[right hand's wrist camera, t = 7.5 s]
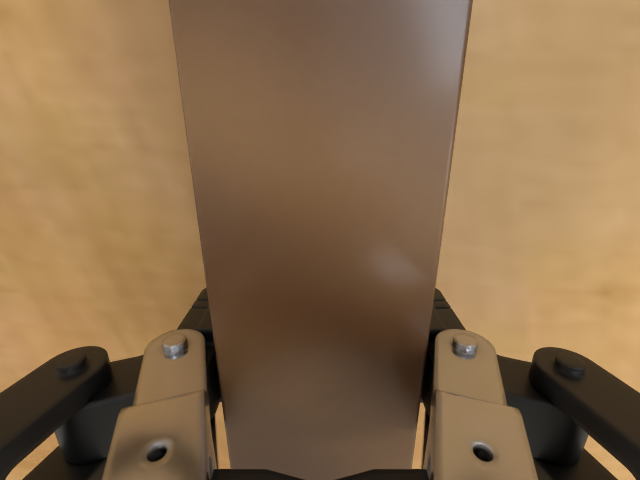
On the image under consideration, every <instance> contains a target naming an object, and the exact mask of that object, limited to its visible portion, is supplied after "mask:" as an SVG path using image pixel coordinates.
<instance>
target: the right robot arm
mask: <svg viewBox="0 0 640 480" xmlns="http://www.w3.org/2000/svg"><path fill="white" fill-rule="evenodd" d="M219 402H222V399H221V391H220V383H219V376H218V368H217V361H216V353H215V346H214V338H213V330H212V323H211V315H210V308H209V300H208V293H207V288H205V289H204V290H202V292H201V293H200V295H199V296H198V298H197V301H195V303H194V304H193V306H192V309H190V310H189V312H188V313H187V315H186V316H185V318H184V319H183V321H182V322H181V324H180V325H179V327H178V329H177V330H174V331H170V332H167V333H164V334H162V335H160V336H158V337H157V338H155V339H154V340H152V341H151V342H150V343H149V344H148V345H147V347H146V349H145V351H144V355H142V356H138V357H133V358H128V359H124V360H119V361H114V362H110V361H109V357H108V354H107V351H106V350H105V349H103V348H101V347H96V346H87V347H80V348H76V349H72V350H69V351H66V352H64V353H62V354H59V355H57V356H56V357H54V358H52V359H50V360H49V361H47V362H46V363H44V364H43V365H41V366H40V367H38V368H37V369H35V370H34V371H32V372H31V373H30V374H28V375H27V376H25V377H24V378H22V379H21V380H19V381H18V382H16V383H15V384H13V385H12V386H10V387H9V388H7V389H6V390H4V391H3V392H1V393H0V480H5V479H6V477H7V476H8V474H9V473H10V472H11V470H12V469H13V468H14V467H15V466H16V465H17V464H18V463H19V462H21V461H22V460H23V459H24V458H25V457H26V456H27V455H29V454H30V453H31V452H32V451H33V450H34V449H35V448H37V447H38V446H39V445H40V444H41V443H42V442H43V441H45V440H46V439H47V438H48V437H49V436H50V435H51V434H53V433H54V432H55V435H56V438H57V441H58V443H59V446H58V447H57V448H56V449H55V450H54V451H53V452H52V453H50V454H49V455H48V456H47V457H46V458H45V459H44V460H43V461H42V462H41V463H40V464H39V465H37V466H36V467H35V468H34V469H33V470H32V471H31V472H30V473H29V474H28V475H27V476H26V477H25V478H23V479H22V480H304V479H300V478H297V477H293V476H289V475H286V474H282V473H278V472H275V471H271V470H267V469H219V456H218V440H217V424H216V416H215V413H216V411H217V408H218V405H219ZM420 403H423V404H424V406H425V416H424V424H423V440H422V456H421V469H373V470H369V471H365V472H362V473H358V474H354V475H351V476H347V477H343V478H340V479H336V480H618V479H617V478H615V477H614V476H613V475H612V474H611V473H610V472H609V471H608V470H607V469H606V468H605V467H604V466H603V465H601V464H600V463H599V462H598V461H597V460H596V459H595V458H594V457H593V456H592V455H591V454H590V453H588V452H587V451H586V450H585V449H584V446H585V443H586V440H587V438H588V435H590V436H591V437H592V438H593V439H594V440H595V441H597V442H598V443H599V444H600V445H601V446H602V447H603V448H605V449H606V450H607V451H608V452H609V453H610V454H611V455H613V456H614V457H615V458H616V459H617V460H618V461H619V462H621V463H622V464H623V465H624V466H625V467H626V468H627V469H628V470H629V471H630V472H631V473H632V474H633V476H634V477H635V479H636V480H640V393H639V392H637V391H636V390H634V389H633V388H631V387H630V386H628V385H627V384H625V383H624V382H622V381H621V380H619V379H618V378H616V377H615V376H613V375H612V374H610V373H609V372H608V371H606V370H605V369H603V368H602V367H600V366H599V365H597V364H596V363H594V362H593V361H591V360H589V359H588V358H586V357H584V356H582V355H580V354H578V353H575V352H572V351H569V350H566V349H561V348H555V347H545V348H541V349H538V350H537V351H536V352H535V353H534V356H533V359H532V363H531V362H526V361H521V360H517V359H512V358H507V357H503V356H500V355H497V354H496V351H495V349H494V347H493V345H492V344H491V343H490V342H489V341H488V340H486V339H485V338H483V337H482V336H480V335H478V334H476V333H473V332H470V331H466V330H465V328H464V327H463V325H462V324H461V322H460V321H459V319H458V318H457V316H456V315H455V313H454V312H453V310H452V309H451V308H450V306H449V304H448V303H447V301H446V300H445V298H444V297H443V295H442V294H441V292H440V291H439V290H438V289H436V288H435V293H434V300H433V308H432V315H431V323H430V331H429V338H428V346H427V354H426V361H425V369H424V377H423V384H422V392H421V400H420Z"/></svg>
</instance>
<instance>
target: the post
mask: <svg viewBox="0 0 640 480" xmlns="http://www.w3.org/2000/svg"><path fill="white" fill-rule="evenodd" d="M472 2H473V0H169V5H170V13H171V20H172V28H173V35H174V43H175V51H176V58H177V66H178V73H179V81H180V88H181V96H182V103H183V111H184V119H185V126H186V134H187V141H188V149H189V156H190V164H191V172H192V179H193V187H194V194H195V202H196V209H197V217H198V225H199V232H200V240H201V247H202V255H203V262H204V270H205V277H206V285H207V293H208V300H209V308H210V315H211V323H212V330H213V338H214V346H215V353H216V361H217V368H218V376H219V383H220V391H221V399H222V406H223V414H224V421H225V429H226V436H227V444H228V452H229V459H230V467H231V469H267V470H271V471H275V472H278V473H282V474H286V475H289V476H293V477H297V478H300V479H304V480H336V479H340V478H343V477H347V476H351V475H354V474H358V473H362V472H365V471H369V470H373V469H411V468H412V461H413V453H414V445H415V438H416V430H417V422H418V415H419V407H420V400H421V392H422V384H423V377H424V369H425V361H426V354H427V346H428V338H429V331H430V323H431V315H432V308H433V300H434V293H435V285H436V277H437V270H438V262H439V254H440V247H441V239H442V231H443V224H444V216H445V209H446V201H447V193H448V186H449V178H450V170H451V163H452V155H453V147H454V140H455V132H456V125H457V117H458V109H459V102H460V94H461V86H462V79H463V71H464V63H465V56H466V48H467V40H468V33H469V25H470V18H471V10H472Z"/></svg>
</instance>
